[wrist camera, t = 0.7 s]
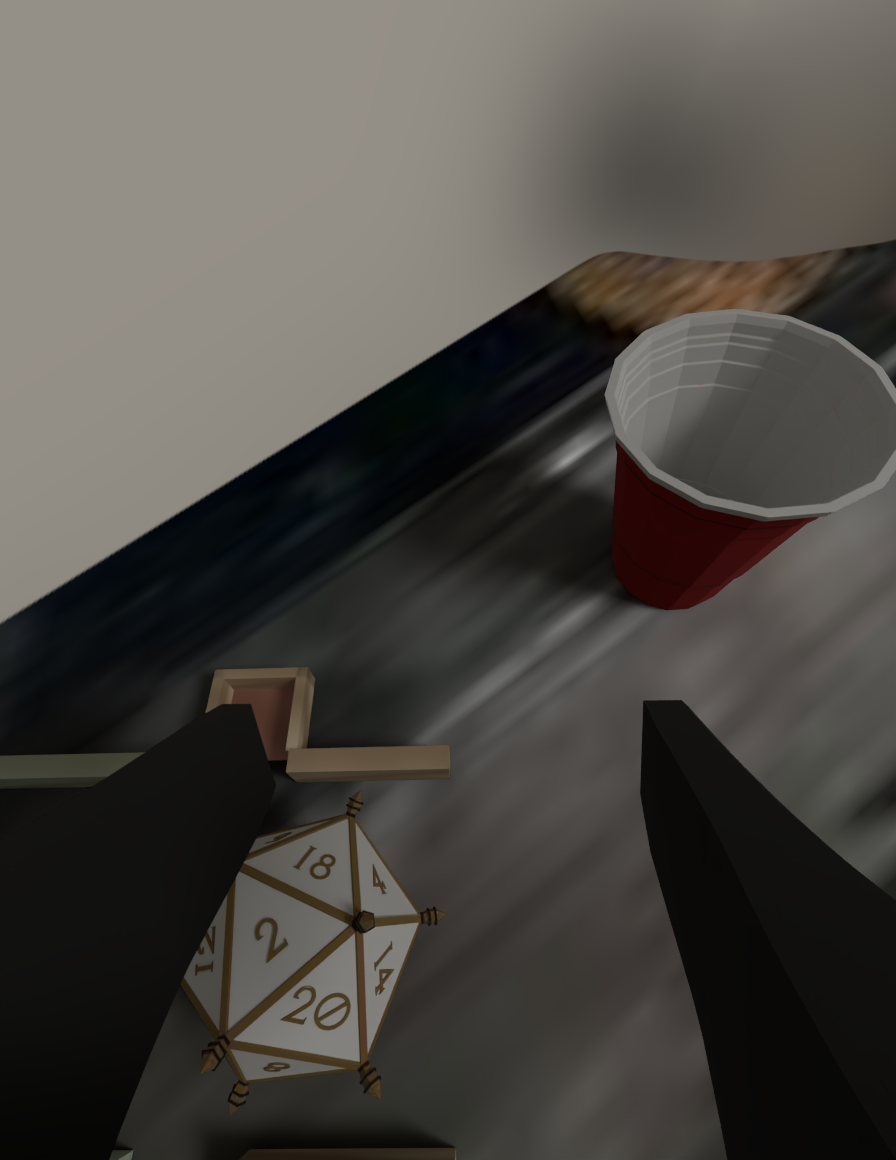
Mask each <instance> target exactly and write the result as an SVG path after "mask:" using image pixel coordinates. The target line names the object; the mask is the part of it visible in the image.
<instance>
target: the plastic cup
mask: <svg viewBox="0 0 896 1160" xmlns="http://www.w3.org/2000/svg"><path fill="white" fill-rule="evenodd" d="M605 398H606V404H607V408H608V411H609V415H610V419H611V422H612V426H613V430H614V433H615V437H616V450H617V464H616V478H615V493H614V507H613V521H612V523H613V527H614V532H613V542H612V552H611V554H612V558H613V565H614V568H615V572H616V576H617V578H618V580H619V581H620V582H621V583H622V585H623V586H624V587H625V589H626V590H627V591H628V592H629V593H630V594H632V595H633V596H635V597H636V598H638V599H639V600H641V601H642V602H644V603H646V604H648V605H652V606H655V607H659V608H663V609H667V610H673V609H689V608H691V607H693V606H695V605H697V604H699V603H701V602H703V601H705V600H707V599H709V598H711V597H713V596H715V595H716V594H717V593H718V592H719V591H720V590H722V589H723V588H724V587H725V586H726V585H728V584H729V583H730V582H731V581H732V580H733V579H735V578H737V577H739V576H741V575H743V574H744V573H745V572H747V571H748V570H749V569H750V568H752V567H753V566H754V565H755V564H757V563H758V562H759V561H760V560H762V559H763V558H764V557H765V556H767V555H768V554H769V553H770V552H772V551H773V550H774V549H775V548H777V547H778V546H779V545H780V544H782V543H783V542H784V541H786V540H787V539H788V538H789V537H791V536H792V535H793V534H794V533H796V532H797V531H798V530H799V529H801V528H802V527H803V526H804V525H806V524H807V523H809V522H811V521H813V520H815V519H817V518H818V517H822V516H827V515H829V514H831V513H833V512H835V511H837V510H839V509H841V508H843V507H845V506H847V505H849V504H851V503H853V502H855V501H858V500H860V499H862V498H864V497H866V496H868V495H870V494H872V493H874V492H876V491H878V490H880V489H881V488H883V487H884V486H885V485H886V483H887V482H888V480H889V479H890V477H891V476H892V474H893V473H894V471H895V470H896V389H895V387H894V385H893V384H892V382H891V381H890V379H889V377H888V376H887V374H886V373H885V371H884V370H883V368H882V367H881V366H879V365H878V364H877V363H875V362H874V361H873V360H871V359H870V358H869V357H867V356H866V355H865V354H864V353H862V352H861V351H860V350H858V349H857V348H856V347H854V346H853V345H852V344H850V343H849V342H848V341H846V340H845V339H844V338H842V337H841V336H839V335H836V334H833V333H831V332H828V331H826V330H823V329H821V328H818V327H816V326H813V325H811V324H808V323H806V322H803V321H800V320H798V319H795V318H793V317H790V316H784V315H777V314H770V313H762V312H755V311H748V310H741V309H730V310H720V311H711V312H701V313H691V314H685V315H682V316H680V317H678V318H675V319H673V320H670V321H668V322H665V323H663V324H660V325H658V326H655V327H653V328H651V329H648V330H646V331H644V332H643V333H642V334H641V335H640V336H639V337H638V338H637V339H636V340H635V341H633V342H632V343H631V344H630V345H629V346H628V347H627V348H626V349H625V350H624V351H623V352H622V353H621V354H620V355H619V356H618V357H617V358H616V359H615V363H614V366H613V369H612V373H611V376H610V379H609V383H608V386H607V389H606V393H605Z"/></svg>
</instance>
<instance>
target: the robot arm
mask: <svg viewBox="0 0 896 1160" xmlns="http://www.w3.org/2000/svg"><path fill="white" fill-rule="evenodd" d="M275 787H276V784H275V781H274V778H273V774H272V771H271V768H270V765H269V761H268V758H267V755H266V751H265V748H264V745H263V742H262V738H261V735H260V732H259V729H258V725H257V722H256V719H255V715H254V712H253V709H252V706H251V704H221V705H219V706H217V707H216V708H214V709H212V710H210V711H209V712H207V713H205V714H203V715H202V716H200V717H199V718H197V719H195V720H194V721H192V722H191V723H189V724H187V725H186V726H184V727H183V728H181V729H180V730H178V731H177V732H175V733H174V734H172V735H171V736H169V737H168V738H166V739H165V740H163V741H161V742H160V743H158V744H157V745H155V746H154V747H152V748H151V749H149V750H148V751H146V752H145V753H143V754H142V755H140V756H139V757H137V758H136V759H134V760H133V761H131V762H129V763H128V764H126V765H125V766H123V767H122V768H120V769H119V770H117V771H116V772H114V773H113V774H111V775H110V776H108V777H106V778H105V779H103V780H101V781H100V782H98V783H97V784H95V785H93V786H92V787H90V788H89V789H87V790H85V791H84V792H82V793H80V794H79V795H77V796H76V797H74V798H72V799H71V800H69V801H67V802H66V803H64V804H63V805H61V806H59V807H58V808H56V809H55V810H53V811H51V812H50V813H48V814H46V815H45V816H43V817H41V818H39V819H38V820H36V821H34V822H33V823H31V824H29V825H27V826H25V827H24V828H22V829H20V830H18V831H17V832H15V833H13V834H11V835H9V836H8V837H6V838H4V839H2V840H0V1160H109V1159H110V1156H111V1154H112V1151H113V1148H114V1145H115V1143H116V1140H117V1137H118V1134H119V1132H120V1129H121V1126H122V1124H123V1121H124V1119H125V1116H126V1114H127V1111H128V1109H129V1106H130V1104H131V1101H132V1099H133V1096H134V1094H135V1091H136V1089H137V1086H138V1084H139V1081H140V1079H141V1076H142V1073H143V1071H144V1068H145V1066H146V1063H147V1061H148V1058H149V1056H150V1053H151V1051H152V1049H153V1046H154V1044H155V1042H156V1039H157V1037H158V1035H159V1032H160V1030H161V1028H162V1025H163V1023H164V1021H165V1018H166V1016H167V1013H168V1011H169V1009H170V1006H171V1004H172V1002H173V999H174V997H175V995H176V992H177V990H178V988H179V986H180V984H181V982H182V980H183V978H184V976H185V974H186V971H187V969H188V967H189V965H190V963H191V961H192V959H193V957H194V955H195V954H196V952H197V950H198V948H199V946H200V944H201V942H202V940H203V939H204V937H205V935H206V933H207V931H208V929H209V927H210V925H211V924H212V922H213V920H214V918H215V916H216V914H217V912H218V910H219V909H220V907H221V905H222V903H223V901H224V899H225V897H226V895H227V894H228V892H229V890H230V888H231V886H232V884H233V882H234V880H235V879H236V877H237V875H238V873H239V871H240V869H241V867H242V865H243V863H244V861H245V859H246V858H247V856H248V854H249V852H250V850H251V848H252V846H253V844H254V842H255V840H256V838H257V836H258V833H259V831H260V828H261V826H262V823H263V820H264V818H265V815H266V813H267V810H268V807H269V804H270V802H271V799H272V796H273V793H274V790H275ZM640 794H641V800H642V806H643V812H644V818H645V824H646V829H647V835H648V840H649V846H650V851H651V855H652V859H653V862H654V866H655V869H656V873H657V876H658V880H659V883H660V887H661V890H662V894H663V897H664V901H665V904H666V907H667V911H668V914H669V918H670V921H671V924H672V928H673V931H674V935H675V938H676V942H677V945H678V948H679V952H680V955H681V959H682V962H683V966H684V969H685V972H686V976H687V979H688V983H689V986H690V990H691V993H692V996H693V1000H694V1004H695V1008H696V1012H697V1016H698V1020H699V1024H700V1028H701V1032H702V1036H703V1040H704V1045H705V1050H706V1055H707V1060H708V1065H709V1070H710V1075H711V1080H712V1084H713V1089H714V1094H715V1099H716V1104H717V1109H718V1114H719V1119H720V1124H721V1129H722V1134H723V1139H724V1144H725V1149H726V1154H727V1159H728V1160H896V901H895V900H894V899H893V898H892V897H890V896H889V895H888V894H887V893H885V892H884V891H883V890H882V889H880V888H879V887H878V886H876V885H875V884H874V883H873V882H871V881H870V880H869V879H868V878H866V877H865V876H864V875H862V874H861V873H860V872H859V871H857V870H856V869H855V868H854V867H852V866H851V865H850V864H849V863H848V862H846V861H845V860H844V859H843V858H842V857H841V856H839V855H838V854H837V853H836V852H835V851H834V850H832V849H831V848H830V847H829V846H828V845H827V844H825V843H824V842H823V841H822V840H821V839H820V838H819V837H818V836H816V835H815V834H814V833H813V832H812V831H811V830H810V829H809V828H808V827H806V826H805V825H804V824H803V823H802V822H801V821H800V820H799V819H797V818H796V817H795V816H794V815H793V814H792V813H791V812H790V811H789V810H788V809H787V808H786V807H785V806H784V805H783V804H781V803H780V802H779V801H778V800H777V799H776V798H775V797H774V796H773V795H772V794H771V793H770V792H769V791H768V790H767V789H766V788H765V787H764V786H763V785H762V784H761V783H760V782H759V781H758V780H757V779H756V778H755V777H754V776H753V775H752V774H751V773H750V772H749V771H748V770H747V769H746V768H745V767H744V766H743V765H742V764H741V763H740V762H739V761H738V760H737V759H736V758H735V757H734V756H733V755H732V754H731V753H730V752H729V751H728V749H727V748H726V747H725V746H724V745H723V744H722V743H721V742H720V741H719V740H718V739H717V738H716V737H715V736H714V734H713V733H712V732H711V731H710V730H709V729H708V728H707V727H706V726H705V725H704V724H703V722H702V721H701V720H700V719H699V718H698V717H697V716H696V715H695V713H694V712H693V711H692V710H691V709H690V708H689V707H688V706H687V705H686V704H685V703H684V702H683V701H682V700H658V701H643V728H642V757H641V787H640Z"/></svg>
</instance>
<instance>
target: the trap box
mask: <svg viewBox="0 0 896 1160" xmlns="http://www.w3.org/2000/svg"><path fill="white" fill-rule="evenodd" d="M314 684H315V678H314V677H313V675H312V673H311V672H310V670H309V669H308V667H298V668H261V669H224V670H215V673H214V678H213V682H212V686H211V691H210V695H209V700H208V704H207V708H206V713H207V712H209V711H210V710H212V709H214V708H216V707H217V706H219V705H221V704H251V706H252V709H253V712H254V715H255V719H256V722H257V725H258V729H259V732H260V735H261V738H262V742H263V745H264V748H265V751H266V755H267V758H268V761H278V760H288V761H287V768H286V773H287V774H288V775H289V776H290V777H292V778H293V779H294V780H295V781H296V782H331V781H376V780H421V779H450V753H449V745H439V746H396V747H354V748H312V749H307V741H308V733H309V725H310V716H311V708H312V700H313V692H314ZM143 753H145V752H143ZM143 753H101V754H59V755H16V756H0V789H18V788H63V787H92V786H93V785H95V784H97V783H98V782H100V781H101V780H103V779H105V778H106V777H108V776H110V775H111V774H113V773H114V772H116V771H117V770H119V769H120V768H122V767H123V766H125V765H126V764H128V763H129V762H131V761H133V760H134V759H136V758H137V757H139V756H140V755H142V754H143ZM132 1155H133V1150H113V1151H112V1154H111V1156H110V1159H109V1160H131V1159H132ZM239 1160H456V1148H352V1149H250V1150H248V1151H247V1152H246V1153H245V1154H244V1155H243V1156H242V1157H241V1158H240V1159H239Z"/></svg>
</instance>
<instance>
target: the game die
mask: <svg viewBox="0 0 896 1160" xmlns="http://www.w3.org/2000/svg"><path fill="white" fill-rule="evenodd" d="M349 799H350V801H349V804H347V805H346V806H348V808H347V813H346V814H344V815H340V816H336V817H332V818H328V819H324V820H320V821H316V822H312V823H308V824H304V825H300V826H297V827H293V828H289V829H285V830H281V831H277V832H273V833H269V834H265V835H261V836H257V838H256V840H255V842H254V844H253V846H252V848H251V850H250V852H249V854H248V856H247V858H246V859H245V861H244V863H243V865H242V867H241V869H240V871H239V873H238V875H237V877H236V879H235V880H234V882H233V884H232V886H231V888H230V890H229V892H228V894H227V895H226V897H225V899H224V901H223V903H222V905H221V907H220V909H219V910H218V912H217V914H216V916H215V918H214V920H213V922H212V924H211V925H210V927H209V929H208V931H207V933H206V935H205V937H204V939H203V940H202V942H201V944H200V946H199V948H198V950H197V952H196V954H195V955H194V957H193V959H192V961H191V963H190V965H189V967H188V969H187V971H186V974H185V976H184V978H183V980H182V982H181V984H180V985H181V986H182V988H183V990H184V991H185V993H186V995H187V996H188V998H189V999H190V1001H191V1003H192V1004H193V1006H194V1008H195V1009H196V1011H197V1012H198V1014H199V1016H200V1017H201V1019H202V1021H203V1022H204V1024H205V1025H206V1027H207V1029H208V1030H209V1032H210V1033H211V1035H212V1037H213V1038H214V1040H215V1042H210V1043H209V1044H208V1048H207V1049H206V1050H203V1051H202V1065H201V1071H200V1074H201V1073H204V1072H207V1071H210V1070H212V1071H215V1069H216V1068H217V1067H218V1065H219V1064H220V1062H221V1060H222V1059H223V1057H224V1056H225V1058H226V1059H227V1061H228V1063H229V1064H230V1066H231V1068H232V1069H233V1071H234V1072H235V1074H236V1076H237V1077H238V1079H239V1081H238V1082H237V1084H234V1086H233V1090H232V1093H230V1095H229V1098H228V1102H229V1106H230V1115H231V1114H232V1113H233V1112H234V1111H235V1110H237V1109H238V1108H239V1107H240V1106H241V1105H244V1104H245V1103H246V1101H245V1098H246V1096H247V1095H248V1094H249V1092H248V1085H249V1083H254V1082H262V1081H271V1080H279V1079H288V1078H296V1077H305V1076H313V1075H322V1074H330V1073H339V1072H347V1071H356V1070H358V1071H359V1072H360V1077H361V1081H360V1084H363V1086H364V1089H365V1090H364V1094H365V1093H366V1092H367V1093H369V1094H371V1095H372V1096H374V1097H376V1098H378V1099H380V1080H381V1077H380V1076H378V1075H377V1073H376V1068H373V1067H372V1066H371V1065H370V1064H369V1062H368V1061H369V1058H370V1056H371V1053H372V1051H373V1048H374V1045H375V1043H376V1040H377V1038H378V1035H379V1032H380V1030H381V1027H382V1024H383V1022H384V1019H385V1017H386V1014H387V1011H388V1009H389V1006H390V1004H391V1001H392V998H393V996H394V993H395V990H396V988H397V985H398V983H399V980H400V977H401V975H402V972H403V970H404V967H405V964H406V962H407V959H408V956H409V954H410V951H411V949H412V946H413V943H414V941H415V938H416V936H417V933H418V930H419V928H420V925H421V924H423V923H424V924H428V925H429V926H430V924H435V925H437V922H439V921H440V920H441V919H442V918H443V917H444V916H445V915H446V913H444V912H442V911H440V910H438V909H436V908H435V907H433V909H428V908H427V910H426V911H424V912H419V911H418V909H417V908H416V906H415V905H414V903H413V902H412V900H411V899H410V897H409V896H408V894H407V893H406V892H405V890H404V889H403V887H402V886H401V884H400V883H399V881H398V880H397V878H396V877H395V876H394V874H393V873H392V871H391V870H390V868H389V867H388V865H387V864H386V862H385V861H384V859H383V858H382V857H381V855H380V854H379V852H378V851H377V849H376V848H375V846H374V845H373V843H372V842H371V841H370V839H369V838H368V836H367V835H366V833H365V832H364V830H363V829H362V827H361V826H360V824H359V823H358V822H357V820H356V819H355V815H356V814H357V812H358V811H360V807H361V804H362V805H363V802H362V795H361V790H360V791H359V792H358V793H356V794H355V795H354V796H352V797H351V798H350V797H349ZM380 1100H381V1099H380Z"/></svg>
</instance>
